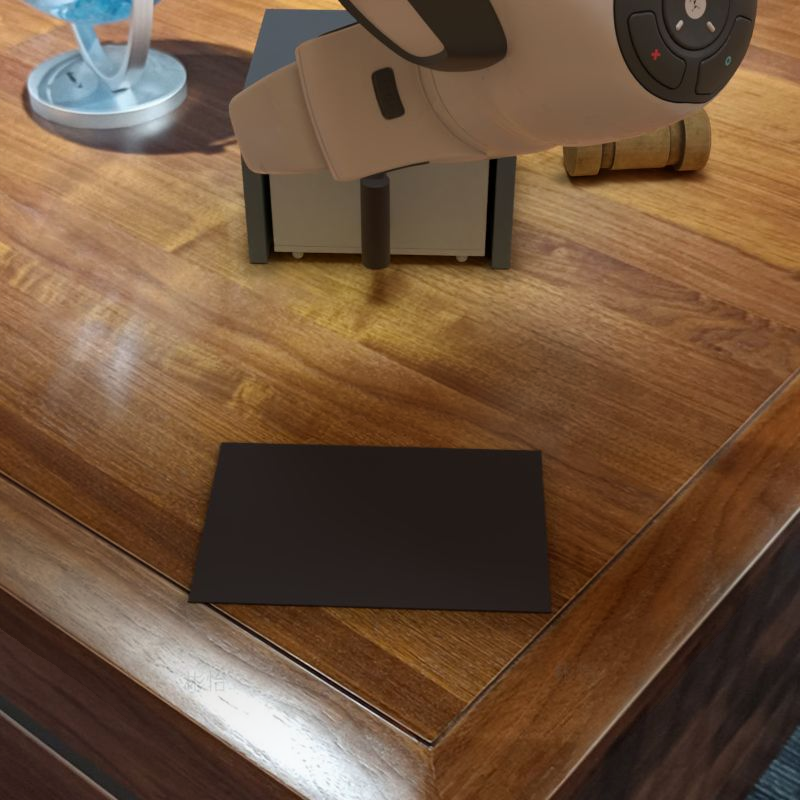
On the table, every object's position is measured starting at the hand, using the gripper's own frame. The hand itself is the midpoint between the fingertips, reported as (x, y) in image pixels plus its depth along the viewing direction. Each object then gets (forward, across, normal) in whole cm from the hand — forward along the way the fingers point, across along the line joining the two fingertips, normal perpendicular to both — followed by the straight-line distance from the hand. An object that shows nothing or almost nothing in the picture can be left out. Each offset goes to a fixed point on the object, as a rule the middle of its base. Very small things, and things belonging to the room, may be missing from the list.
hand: (372, 94), depth 75 cm
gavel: (+22, -29, +8) cm, 37 cm away
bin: (+16, -5, +9) cm, 19 cm away
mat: (-5, +9, +21) cm, 24 cm away
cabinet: (+19, -7, +8) cm, 22 cm away
